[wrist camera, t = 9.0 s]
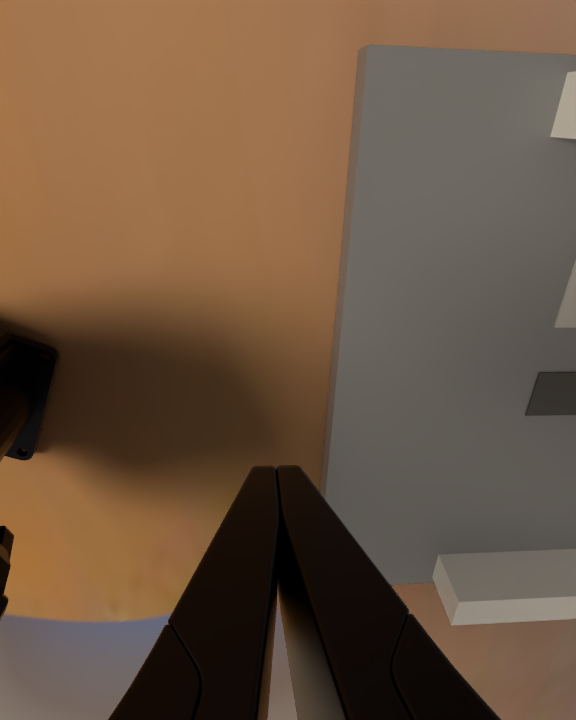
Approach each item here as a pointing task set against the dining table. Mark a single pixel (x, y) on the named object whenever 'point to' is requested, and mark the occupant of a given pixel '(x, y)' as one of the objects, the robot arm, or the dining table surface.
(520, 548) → the breaker panel
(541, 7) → the dining table surface
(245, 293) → the dining table surface
